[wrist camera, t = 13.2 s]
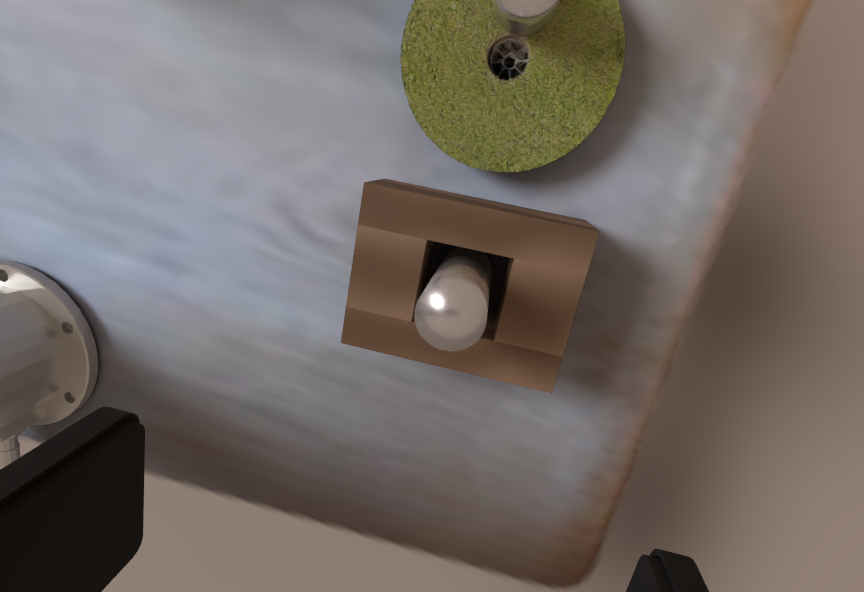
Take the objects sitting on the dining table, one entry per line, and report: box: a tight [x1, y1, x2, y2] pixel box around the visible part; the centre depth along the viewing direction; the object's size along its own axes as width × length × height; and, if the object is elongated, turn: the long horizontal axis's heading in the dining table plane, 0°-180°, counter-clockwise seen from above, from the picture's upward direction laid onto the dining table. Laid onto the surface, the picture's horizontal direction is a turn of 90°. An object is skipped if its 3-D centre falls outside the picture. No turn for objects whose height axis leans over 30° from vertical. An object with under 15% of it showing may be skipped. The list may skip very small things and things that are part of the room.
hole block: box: [341, 179, 599, 393], centre depth 28 cm, size 9×12×4 cm
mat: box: [401, 0, 625, 173], centre depth 26 cm, size 11×11×2 cm
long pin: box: [414, 247, 492, 351], centre depth 26 cm, size 3×3×9 cm
